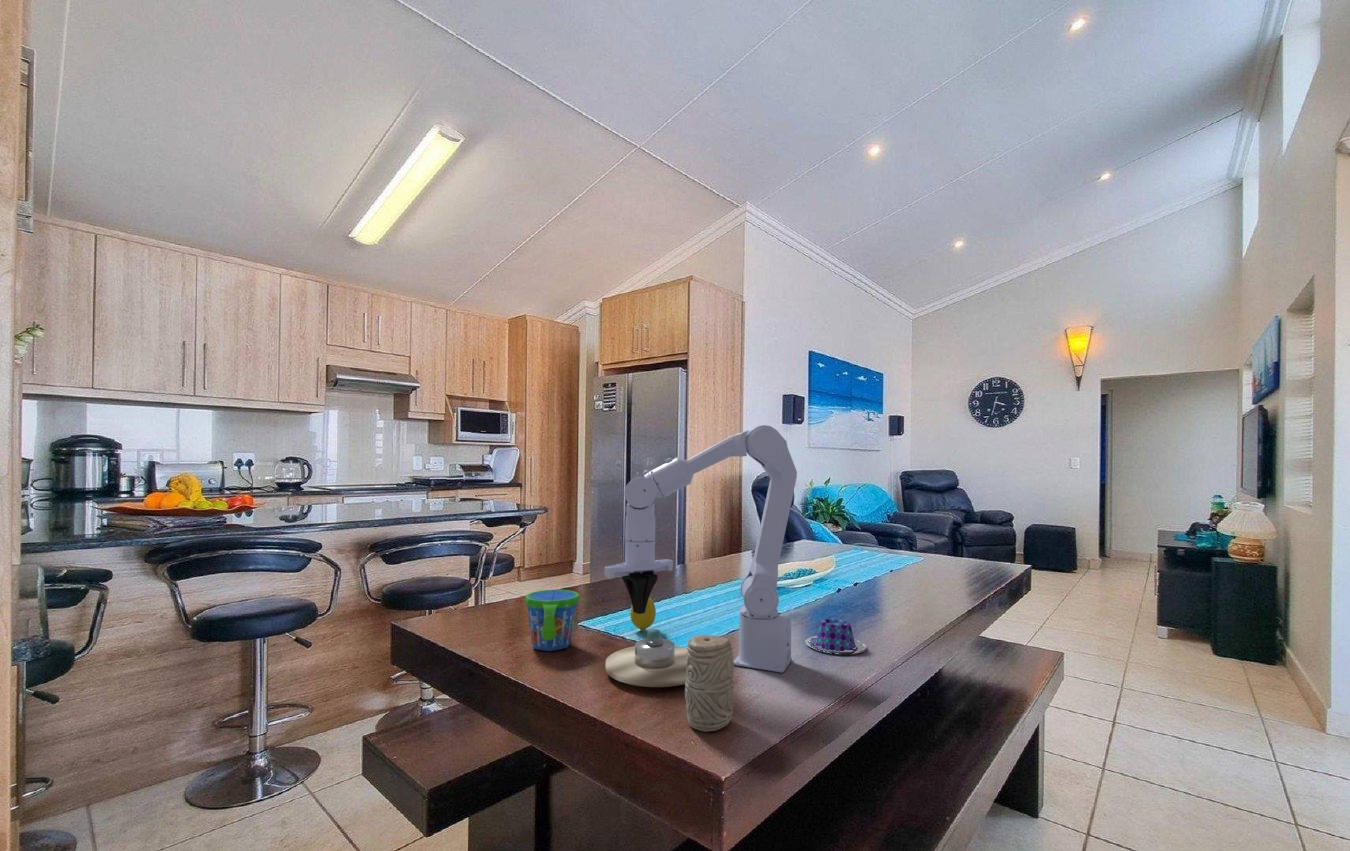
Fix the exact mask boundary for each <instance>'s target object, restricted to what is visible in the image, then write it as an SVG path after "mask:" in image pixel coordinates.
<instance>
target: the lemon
mask: <svg viewBox="0 0 1350 851" xmlns="http://www.w3.org/2000/svg"><path fill="white" fill-rule="evenodd" d="M656 614H657V612H656V606H655V602H654V600H653V599H652V598H651V597H649V599H648V602H647V606H646V610H645V613H642V614H637V613H635V612H633V607H632V605H631V607H630V621H631V623H632V624H633V626H634V627H635V628H637V629H639V630H640V631H641V632H645V631H646V629H648V628H650V627H651V626H652V625H653V624H654V622H655V621H656V620H655V619H656Z"/></svg>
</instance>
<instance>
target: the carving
mask: <svg viewBox="0 0 1350 851" xmlns="http://www.w3.org/2000/svg"><path fill="white" fill-rule="evenodd" d="M686 648H687V650H688V651H687V657H686V659H687V665H686V682H685V684H684V697H685V708H686V718H687V721H688V724H689V726H690V727H691V728H692V729H694V730H698V731H700V732H703V733H709V732H715V731H719V730H721V729H723V728H724V727H726V726H727V725H728V724H729V723H730V722H731V720H732V719H733V711H734V672H735V668H734V666H735V665H734V656H733V654H734V653H733V648H732V644H731V642H730V639H729V638H727V637H724V636H718V635H708V634H707V635H705V634H699V635H694V636H692V637H691V638H689V639H688V642H687V646H686Z"/></svg>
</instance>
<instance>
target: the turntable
mask: <svg viewBox="0 0 1350 851" xmlns="http://www.w3.org/2000/svg"><path fill="white" fill-rule="evenodd" d="M646 632H647V635H646V636H647V637H646V639H650V638H659V639H661V630H660V629H654V628H652V629H648V630H647V631H646ZM687 651H688V650H687V647H683V646H678V645H677V646H676V645H675V653H674V664H673V665H672V666H670V667H667V668H662V669H647V668H642V667H639V666H637V665H636V664H635V645H634V646H629V647H625V648H621V649H619V650H616V651H615V652H613V653H611V654H610V655H608V656H607V657H606V659H605V672H606V673H607V674H608V676H609V677H611V678H613V679H614V680H616V681H618V682H620V683H621V682H622V683H624V684H627V685H630V686H637V687H646V688H671V687H677V686H682V685H685V682H686V665H687V659H686V657H687Z"/></svg>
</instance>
